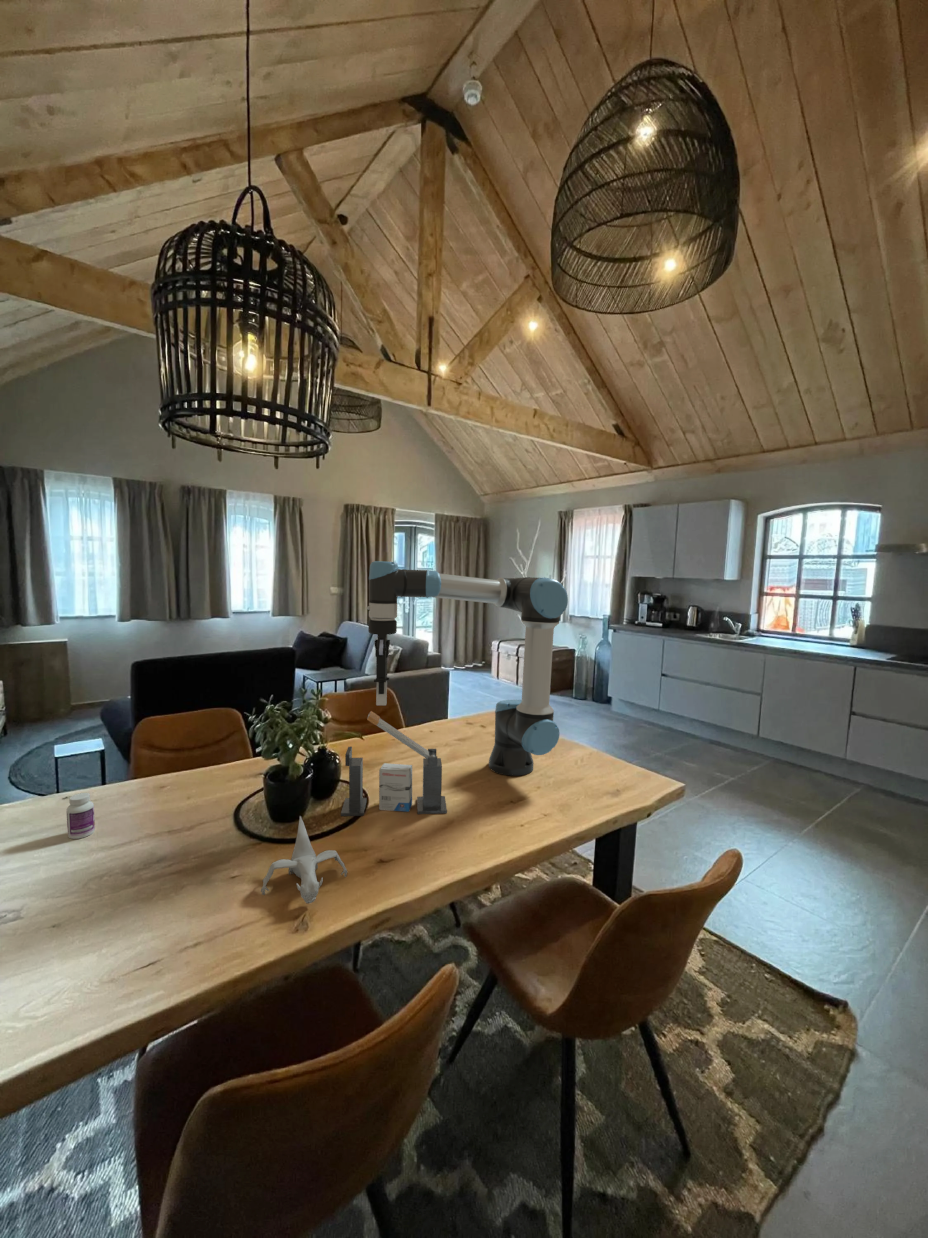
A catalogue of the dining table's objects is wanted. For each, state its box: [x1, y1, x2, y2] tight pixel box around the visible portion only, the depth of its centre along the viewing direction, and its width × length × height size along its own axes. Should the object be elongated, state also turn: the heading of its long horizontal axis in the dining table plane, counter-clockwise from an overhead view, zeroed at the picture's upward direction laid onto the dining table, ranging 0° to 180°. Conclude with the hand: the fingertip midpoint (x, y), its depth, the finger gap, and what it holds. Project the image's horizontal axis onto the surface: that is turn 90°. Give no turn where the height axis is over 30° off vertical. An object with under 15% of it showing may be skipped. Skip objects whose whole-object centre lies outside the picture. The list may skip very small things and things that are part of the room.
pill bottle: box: [66, 792, 96, 840], centre depth 123 cm, size 5×5×10 cm
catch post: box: [340, 746, 368, 817], centre depth 139 cm, size 6×9×16 cm, turn 6°
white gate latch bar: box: [366, 710, 435, 759], centre depth 139 cm, size 22×5×2 cm
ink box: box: [378, 762, 413, 813], centre depth 140 cm, size 8×5×12 cm, turn 84°
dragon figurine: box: [260, 815, 348, 904], centre depth 106 cm, size 15×15×9 cm
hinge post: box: [416, 748, 448, 815], centre depth 141 cm, size 8×9×16 cm
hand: (381, 704), depth 138 cm, fingers closed
